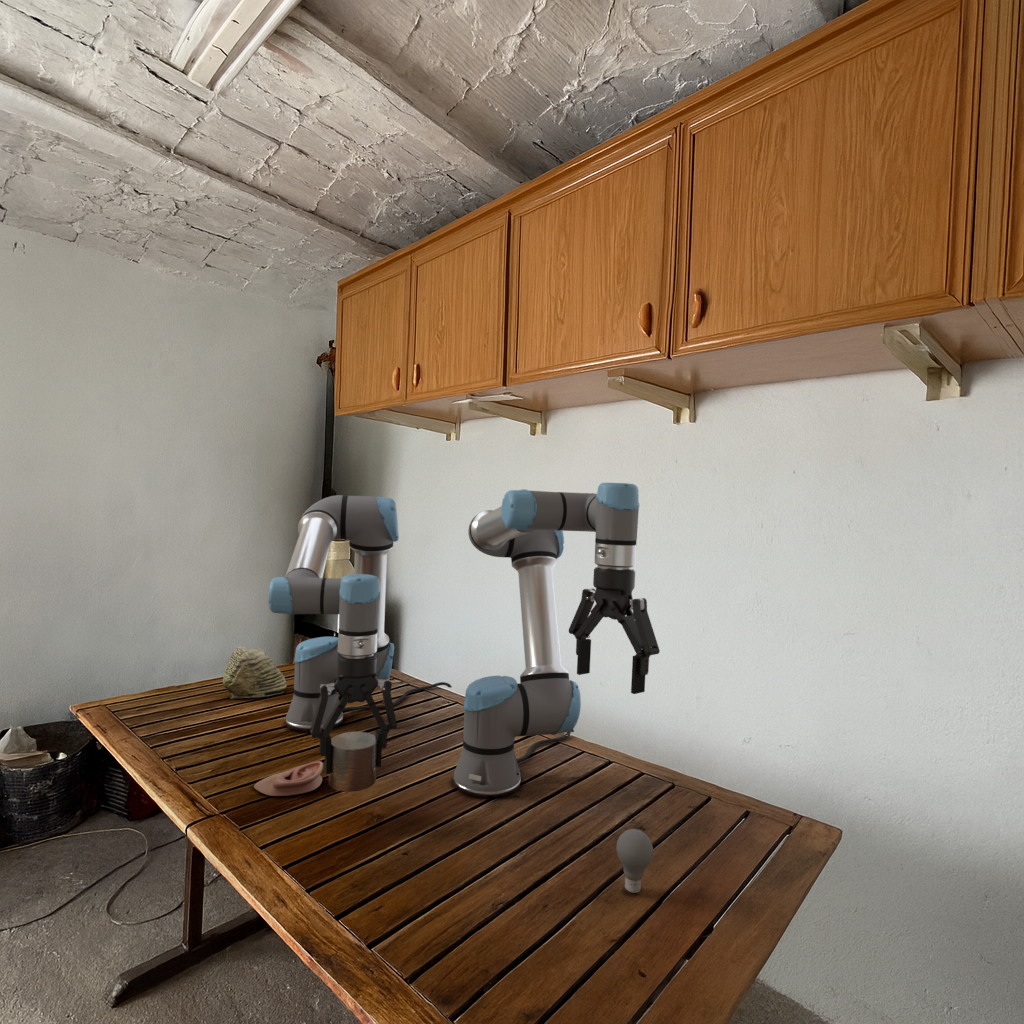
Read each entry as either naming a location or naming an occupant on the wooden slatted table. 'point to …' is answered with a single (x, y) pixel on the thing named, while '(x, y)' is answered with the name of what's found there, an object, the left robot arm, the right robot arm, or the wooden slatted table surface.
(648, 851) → the light bulb
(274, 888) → the wooden slatted table surface
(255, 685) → the fossil
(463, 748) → the right robot arm
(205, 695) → the wooden slatted table surface
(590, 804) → the wooden slatted table surface
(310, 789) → the anatomical model
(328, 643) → the left robot arm
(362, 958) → the wooden slatted table surface
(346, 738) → the tin
